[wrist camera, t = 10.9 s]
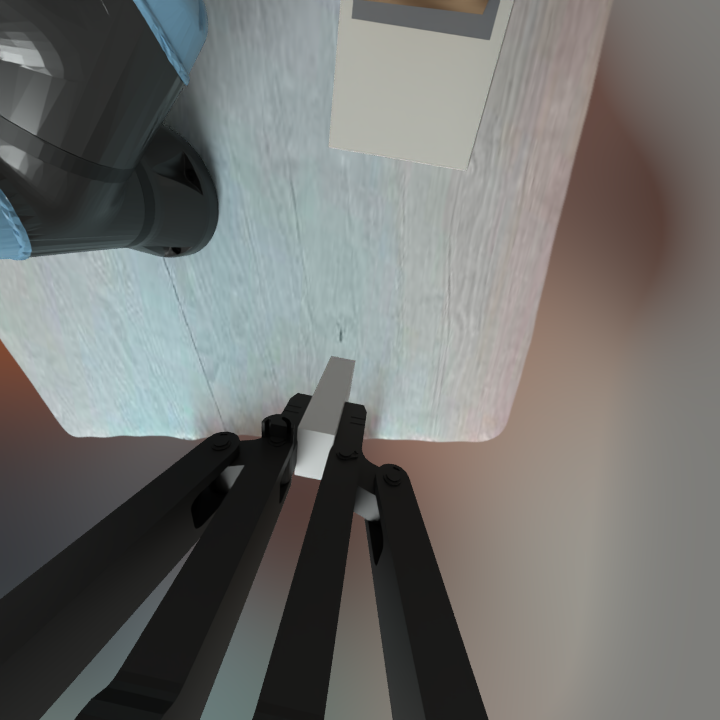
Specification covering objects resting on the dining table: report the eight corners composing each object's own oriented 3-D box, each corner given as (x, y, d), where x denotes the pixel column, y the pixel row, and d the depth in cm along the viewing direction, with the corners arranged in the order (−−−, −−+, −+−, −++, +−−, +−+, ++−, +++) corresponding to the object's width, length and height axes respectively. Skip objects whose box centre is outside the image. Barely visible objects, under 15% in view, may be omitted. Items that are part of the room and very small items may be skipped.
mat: (329, 147, 32) (328, 146, 31) (362, -241, 21) (361, -251, 20) (465, 171, 31) (466, 170, 31) (572, -213, 20) (576, -223, 20)
